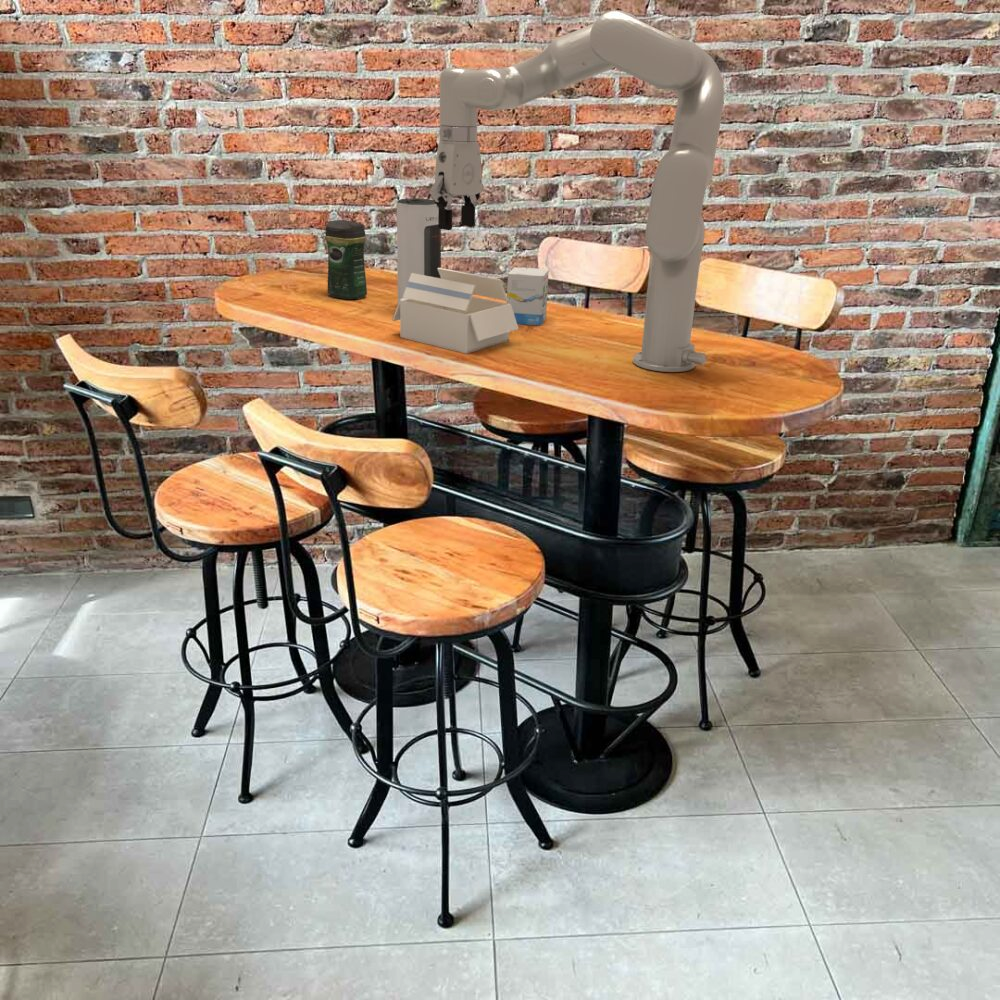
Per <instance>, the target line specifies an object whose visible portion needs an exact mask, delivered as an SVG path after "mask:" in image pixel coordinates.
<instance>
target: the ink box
mask: <svg viewBox="0 0 1000 1000" xmlns="http://www.w3.org/2000/svg"><path fill="white" fill-rule="evenodd" d="M549 274H550V273H549V269H544V268H536V267H525V266H524V267H517V266H515V267H513V268H512V269H511V270H510V271H509V272H508V273H507V283H506V285H507V286H506V296H507V299H508V300H507V301H506V303H507V304H511V306H512V309H513V312H514V316H515V319H516V322H517V325H528V326H539V327H540V326H542V324H543V323H544V322H545V320H546V318H547V307H548V306H547V305H548V290H549V289H548V286H549Z"/></svg>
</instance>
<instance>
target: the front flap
mask: <svg viewBox="0 0 1000 1000" xmlns="http://www.w3.org/2000/svg"><path fill="white" fill-rule="evenodd" d="M474 289H475V285H471V284H466V283H461V282H455V281H450V280H445V279H440V278H435V277H430V276H425V275H420V274H415V273H411V275H410V278H409V281H408V283H407V286H406V289H405V292H404V295H403V298H407V299H411V300H416V301H421V302H425V303H430V304H435V305H439V306H444V307H448V308H453V309H458V310H462V311H467V309H468V306H469V303H470V300H471V298H472V296H473V295H474V294H473V292H474Z"/></svg>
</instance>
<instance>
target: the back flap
mask: <svg viewBox="0 0 1000 1000" xmlns="http://www.w3.org/2000/svg"><path fill="white" fill-rule="evenodd" d="M438 271H439V274H440V277H441V279H445V280H450V281H455V282H461V283H466V284H471V285H475V289H474V292H473V295H475V296H478V297H479V296H480V297H485V298H489V299H494V300H500V301H504V302H505V301H506V302H507V300H508V299H507V292H506V290H505V288H504V284H503V282H502V279H501V278H496V277H491V276H485V275H480V274H474V273H469V272H464V271H459V270H453V269H448V268H442V267H441V268H438Z"/></svg>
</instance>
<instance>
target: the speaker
mask: <svg viewBox="0 0 1000 1000" xmlns="http://www.w3.org/2000/svg"><path fill="white" fill-rule="evenodd" d="M438 215H439V209H437V207H436V203H435V202H434V199H431V198H430V199H429V198H418V197H417V198H416V197H409V198H402V199H401V198H400V199H398V200H396V245H397V246H396V251H397V253H396V255H397V258H396V260H397V266H396V267H397V304H398V303H399V300H400V299H402V298H403V295H404V292H405V289H406V286H407V283H408V281H409V278H410V275H411V273H415V274H420V275H425V276H430V277H435V278H440V279H441V277H440V274H439V271H438V268H442V229H439V227H438Z"/></svg>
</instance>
